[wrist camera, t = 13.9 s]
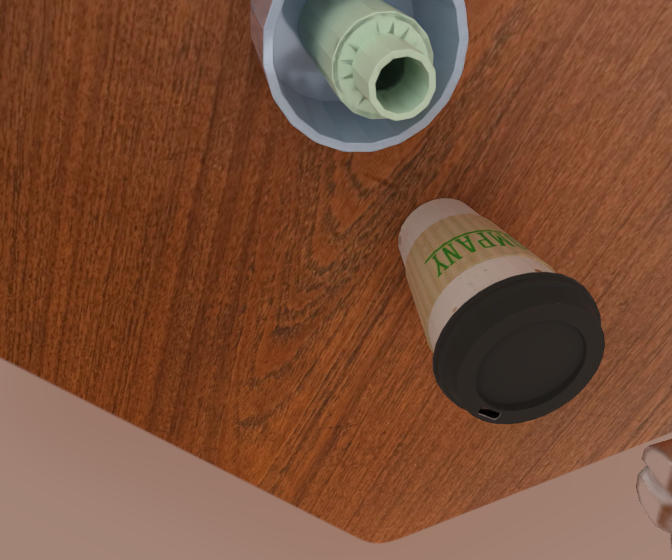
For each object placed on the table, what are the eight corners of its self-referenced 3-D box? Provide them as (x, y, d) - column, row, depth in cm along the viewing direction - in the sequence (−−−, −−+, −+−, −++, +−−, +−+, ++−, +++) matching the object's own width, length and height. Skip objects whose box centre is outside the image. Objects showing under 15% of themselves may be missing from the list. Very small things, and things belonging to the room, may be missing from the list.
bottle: (287, 50, 35) (329, 121, 24) (316, -33, 33) (375, 5, 22) (358, 77, 37) (426, 155, 26) (389, 0, 35) (477, 50, 24)
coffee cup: (526, 209, 45) (652, 331, 33) (447, 307, 49) (534, 449, 36) (426, 150, 41) (527, 263, 28) (348, 262, 44) (408, 405, 32)
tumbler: (227, 74, 36) (235, 116, 29) (284, -112, 31) (308, -113, 25) (376, 127, 39) (413, 175, 33) (446, -33, 35) (505, -15, 28)
